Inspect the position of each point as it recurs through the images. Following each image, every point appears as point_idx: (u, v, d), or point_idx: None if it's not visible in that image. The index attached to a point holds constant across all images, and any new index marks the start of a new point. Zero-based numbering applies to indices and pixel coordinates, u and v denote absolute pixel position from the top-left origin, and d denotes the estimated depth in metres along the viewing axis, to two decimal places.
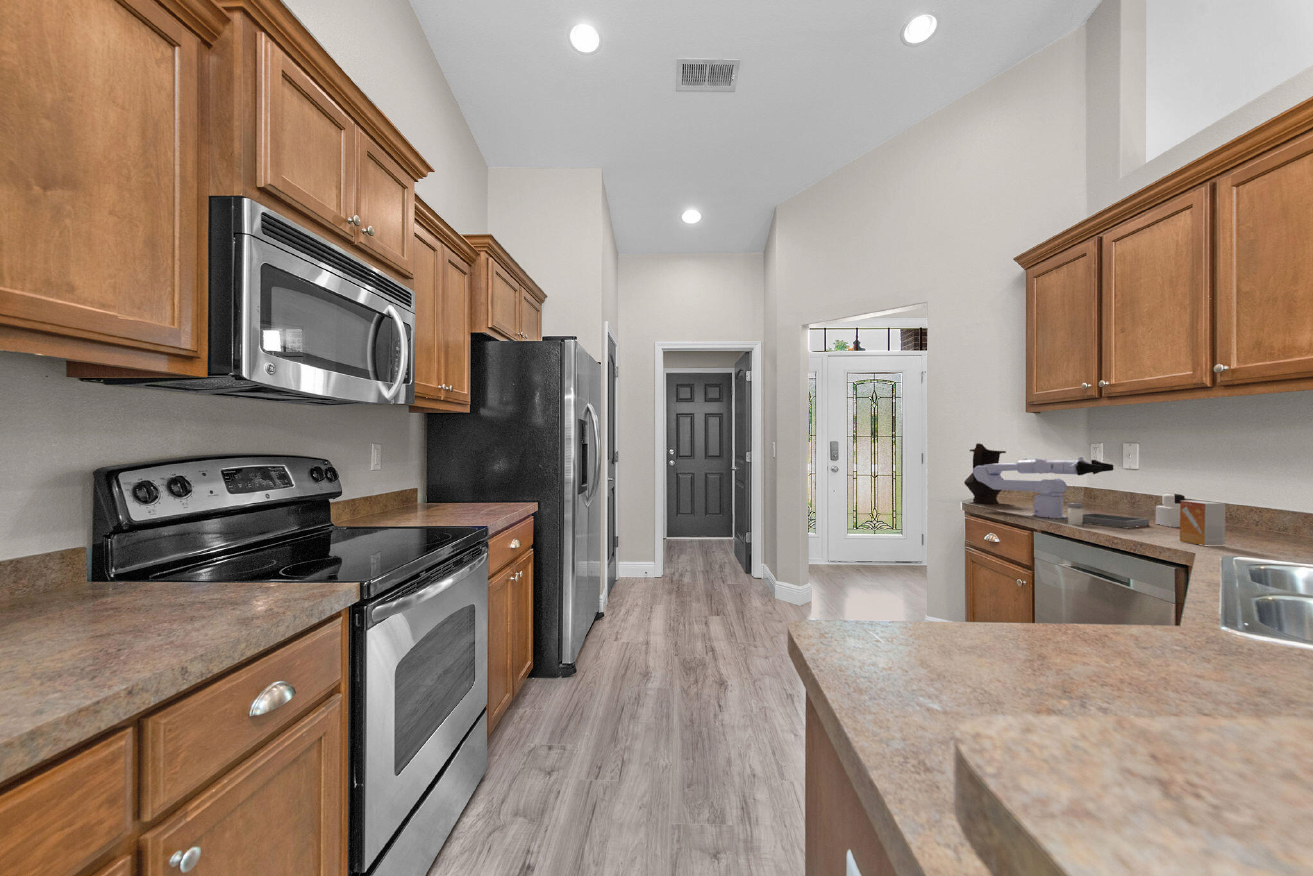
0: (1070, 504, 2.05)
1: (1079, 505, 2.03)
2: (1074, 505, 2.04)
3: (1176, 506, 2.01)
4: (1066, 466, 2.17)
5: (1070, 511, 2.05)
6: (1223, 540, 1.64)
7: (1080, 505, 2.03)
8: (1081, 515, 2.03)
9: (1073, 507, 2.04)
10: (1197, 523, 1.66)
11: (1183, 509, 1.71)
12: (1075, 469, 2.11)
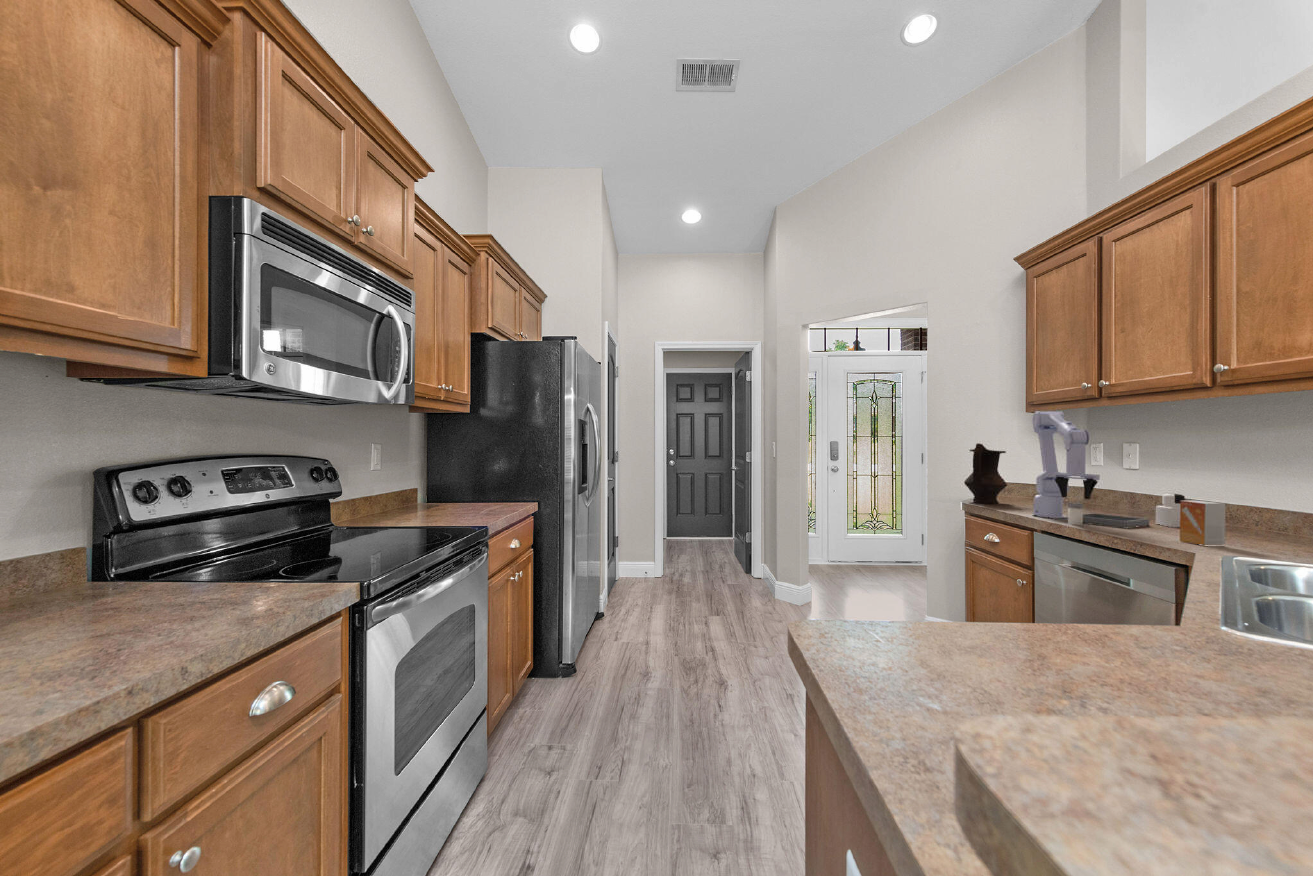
0: (1070, 504, 2.05)
1: (1079, 505, 2.03)
2: (1074, 505, 2.04)
3: (1176, 506, 2.01)
4: None
5: (1070, 511, 2.05)
6: (1223, 540, 1.64)
7: (1080, 505, 2.03)
8: (1081, 515, 2.03)
9: (1073, 507, 2.04)
10: (1197, 523, 1.66)
11: (1183, 509, 1.71)
12: None
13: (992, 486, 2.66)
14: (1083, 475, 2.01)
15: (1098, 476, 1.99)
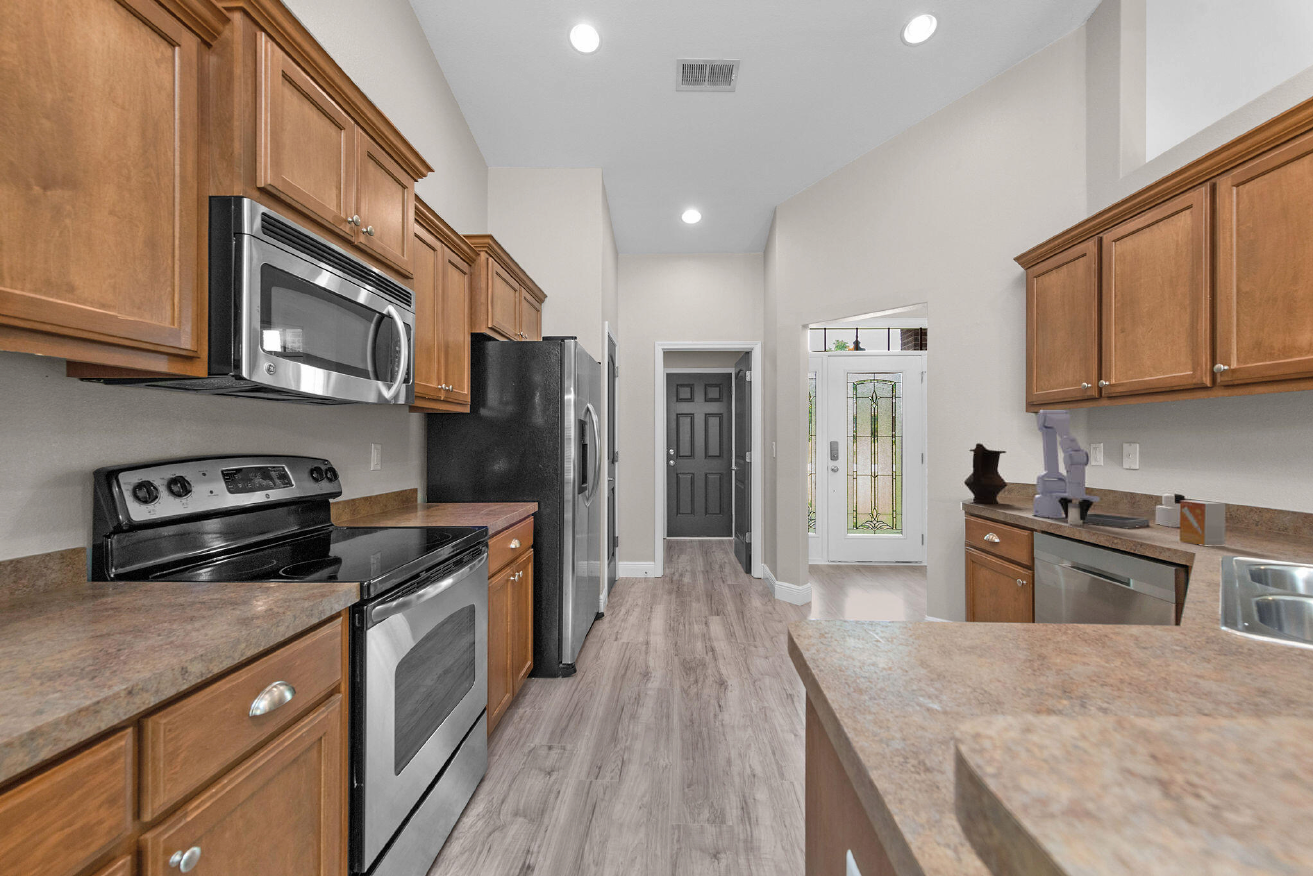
0: (1070, 504, 2.05)
1: None
2: (1074, 505, 2.04)
3: (1176, 506, 2.01)
4: None
5: (1070, 511, 2.05)
6: (1223, 540, 1.64)
7: None
8: None
9: (1073, 507, 2.04)
10: (1197, 523, 1.66)
11: (1183, 509, 1.71)
12: (1056, 497, 2.11)
13: (992, 486, 2.66)
14: (1083, 496, 2.01)
15: (1098, 498, 1.99)
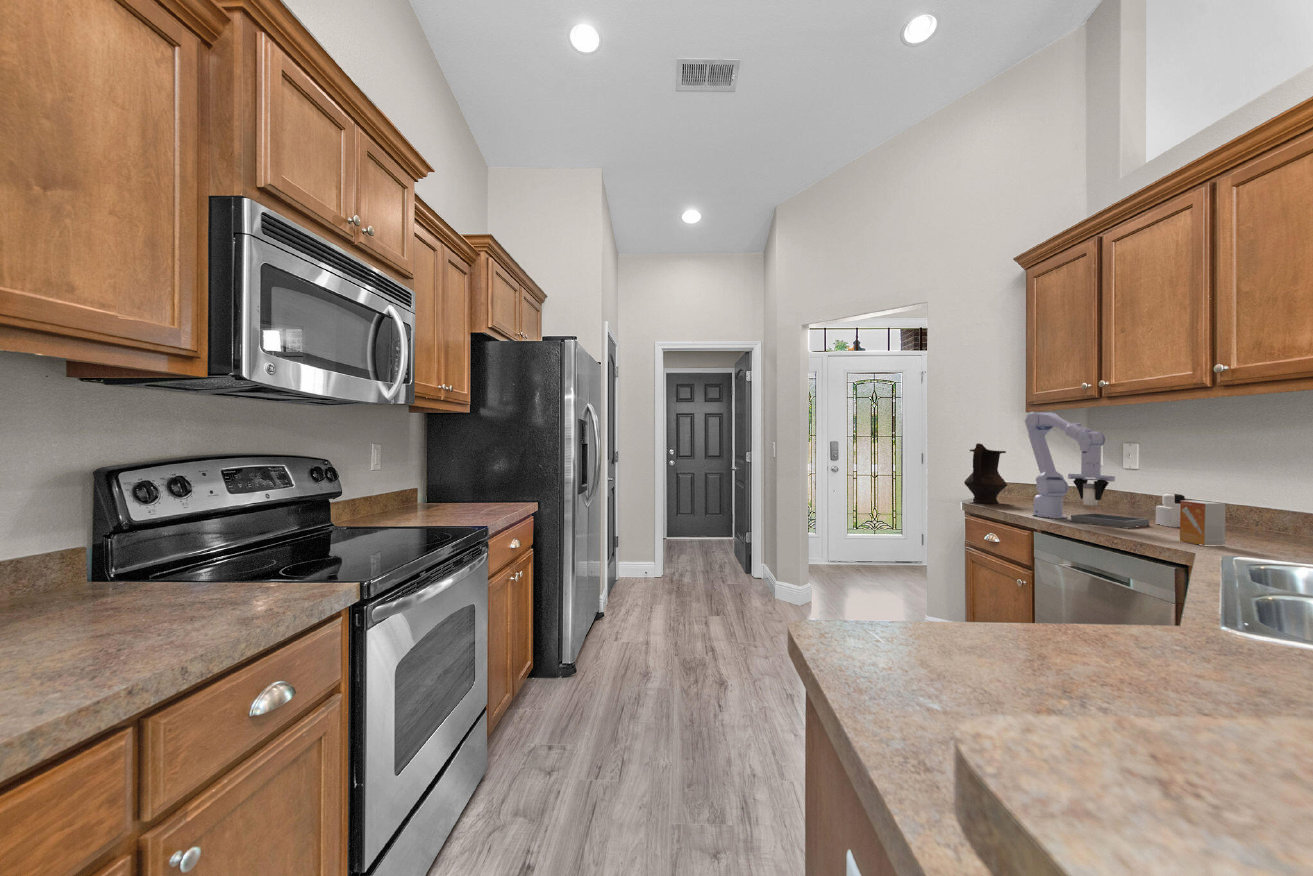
0: (1085, 484, 2.06)
1: (1094, 485, 2.04)
2: (1089, 485, 2.05)
3: (1176, 506, 2.01)
4: None
5: (1085, 491, 2.06)
6: (1223, 540, 1.64)
7: None
8: None
9: (1088, 487, 2.05)
10: (1197, 523, 1.66)
11: (1183, 509, 1.71)
12: (1071, 478, 2.13)
13: (992, 486, 2.66)
14: (1098, 476, 2.03)
15: (1113, 477, 2.00)
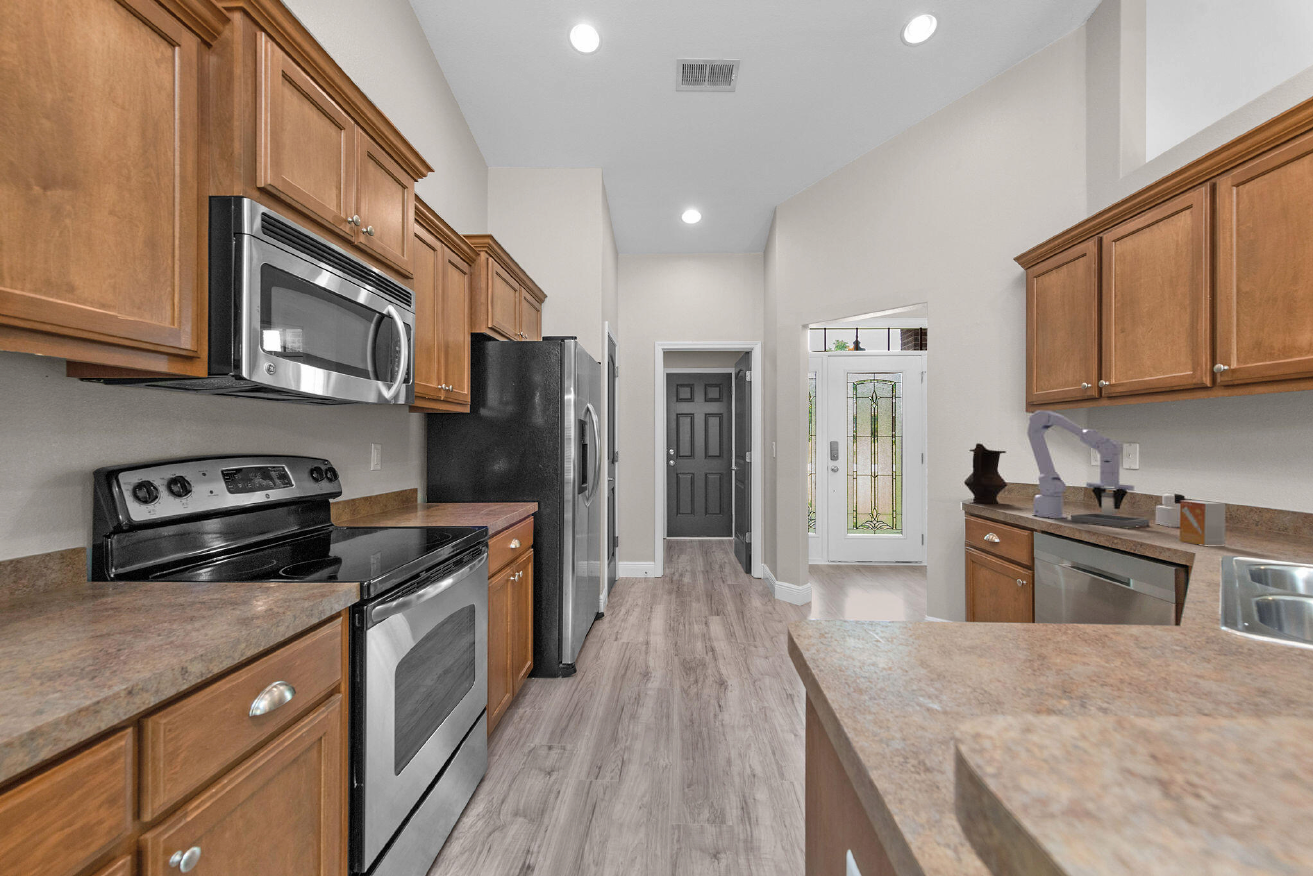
0: (1103, 494, 2.08)
1: (1112, 494, 2.06)
2: (1107, 494, 2.07)
3: (1176, 506, 2.01)
4: None
5: (1104, 500, 2.08)
6: (1223, 540, 1.64)
7: (1113, 494, 2.06)
8: None
9: (1106, 496, 2.07)
10: (1197, 523, 1.66)
11: (1183, 509, 1.71)
12: (1089, 487, 2.14)
13: (992, 486, 2.66)
14: (1117, 486, 2.04)
15: (1132, 487, 2.02)
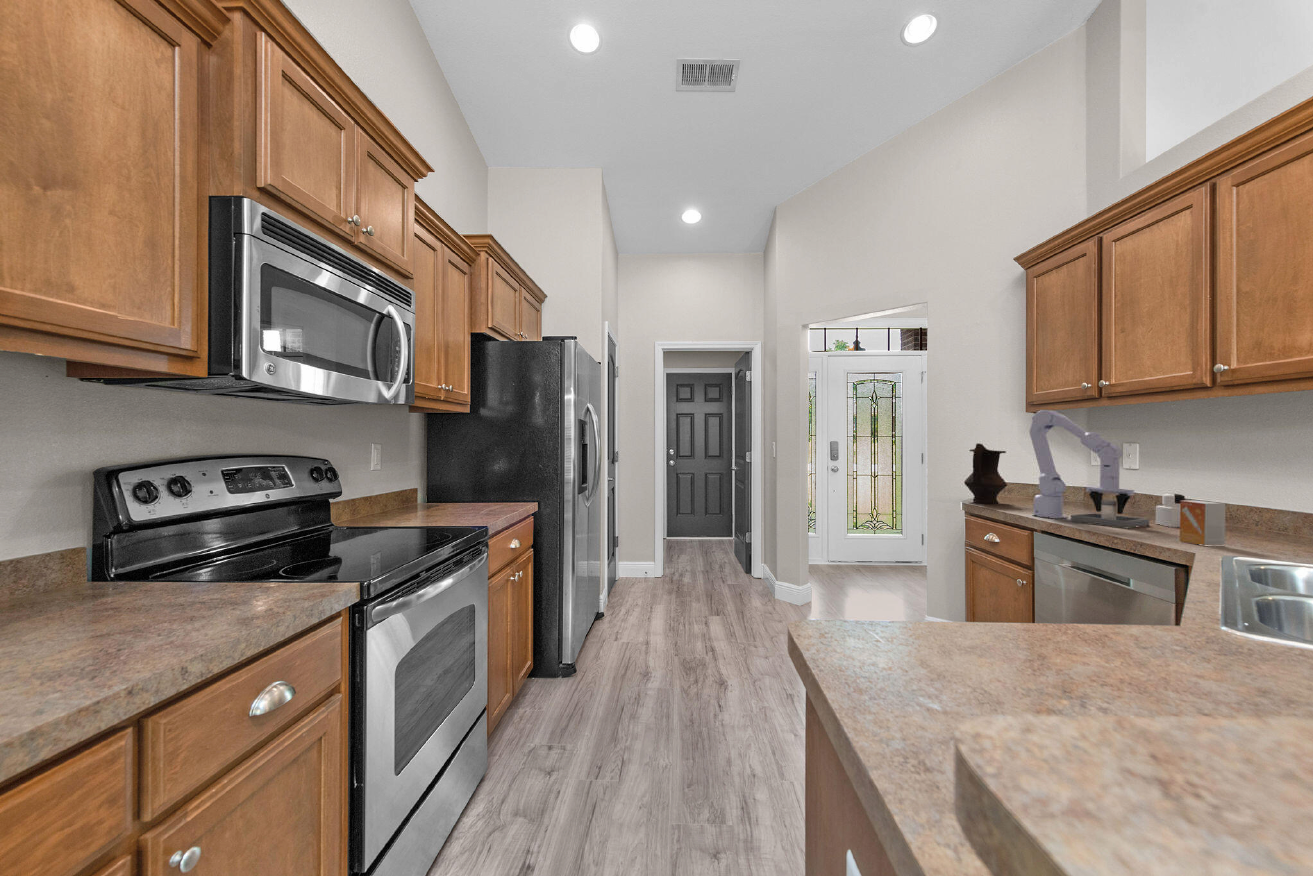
0: (1103, 501, 2.08)
1: (1112, 502, 2.06)
2: (1107, 502, 2.07)
3: (1176, 506, 2.01)
4: None
5: (1103, 508, 2.08)
6: (1223, 540, 1.64)
7: (1113, 502, 2.06)
8: (1114, 512, 2.06)
9: (1106, 504, 2.07)
10: (1197, 523, 1.66)
11: (1183, 509, 1.71)
12: (1089, 491, 2.14)
13: (992, 486, 2.66)
14: (1117, 490, 2.04)
15: (1132, 491, 2.02)
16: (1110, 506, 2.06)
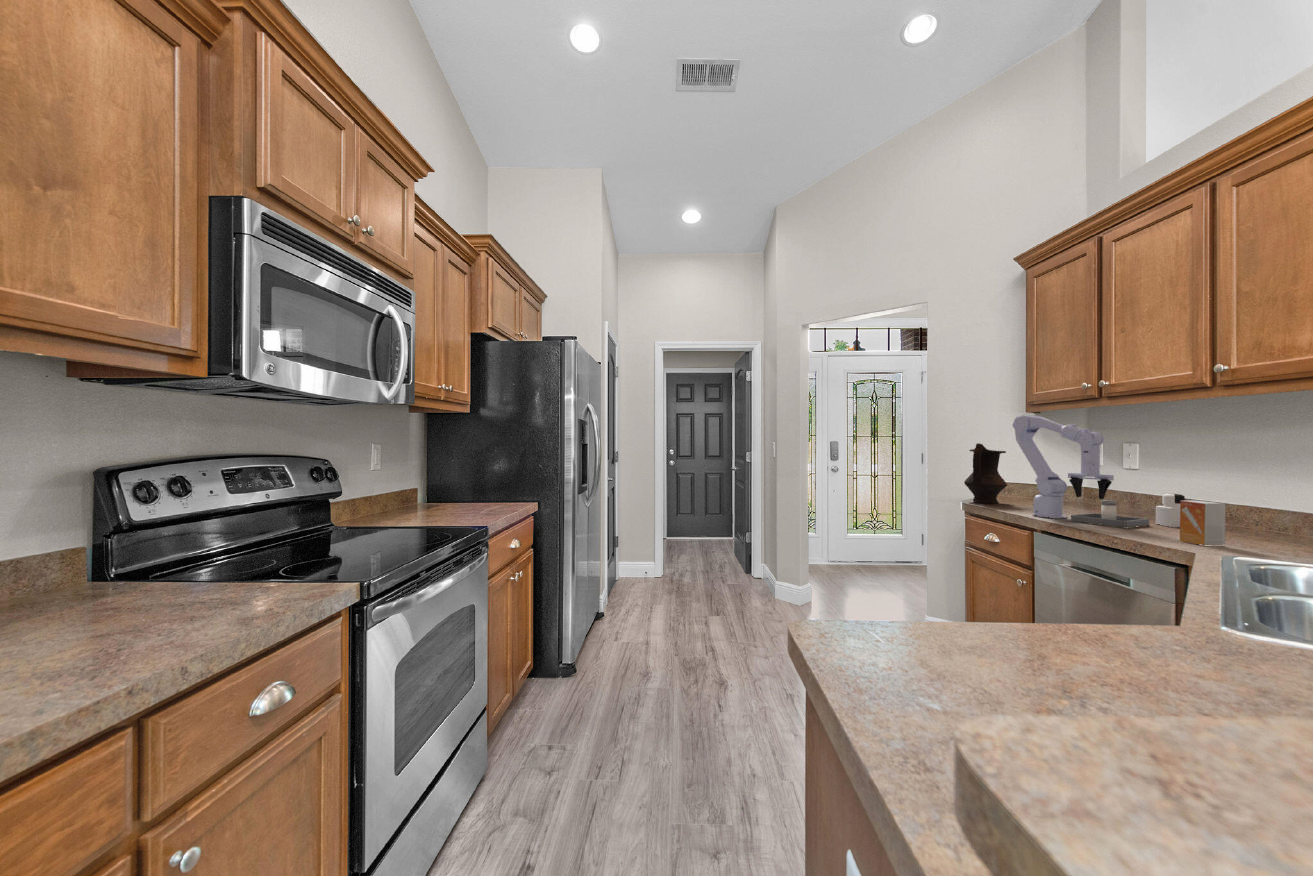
0: (1103, 501, 2.08)
1: (1112, 502, 2.06)
2: (1107, 502, 2.07)
3: (1176, 506, 2.01)
4: None
5: (1103, 508, 2.08)
6: (1223, 540, 1.64)
7: (1113, 502, 2.06)
8: (1114, 512, 2.06)
9: (1106, 504, 2.07)
10: (1197, 523, 1.66)
11: (1183, 509, 1.71)
12: (1071, 477, 2.18)
13: (992, 486, 2.66)
14: (1097, 475, 2.07)
15: (1112, 476, 2.05)
16: (1110, 506, 2.06)
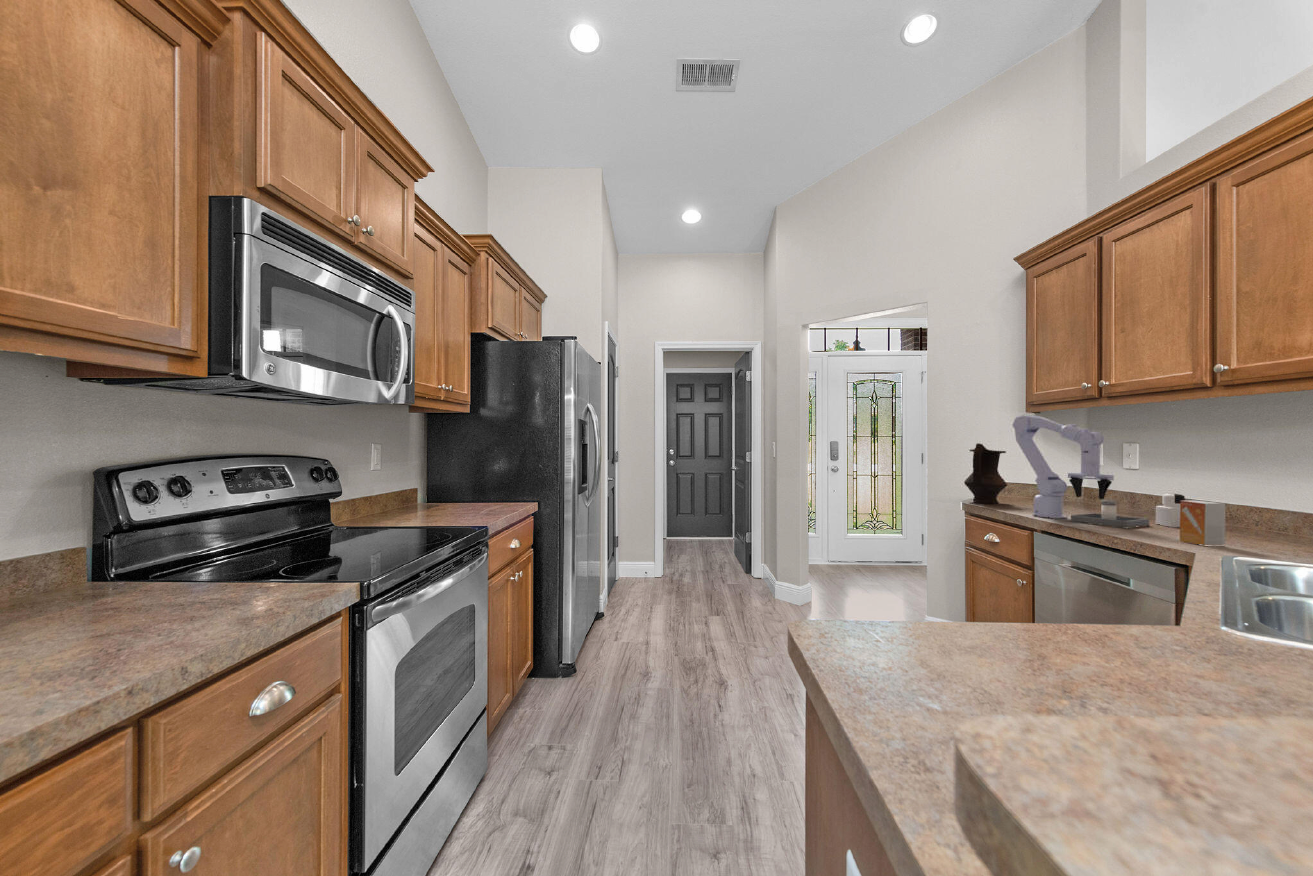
0: (1103, 501, 2.08)
1: (1112, 502, 2.06)
2: (1107, 502, 2.07)
3: (1176, 506, 2.01)
4: None
5: (1104, 508, 2.08)
6: (1223, 540, 1.64)
7: (1113, 502, 2.06)
8: (1114, 512, 2.06)
9: (1106, 504, 2.07)
10: (1197, 523, 1.66)
11: (1183, 509, 1.71)
12: (1071, 477, 2.18)
13: (992, 486, 2.66)
14: (1097, 475, 2.07)
15: (1112, 476, 2.05)
16: (1110, 506, 2.06)
